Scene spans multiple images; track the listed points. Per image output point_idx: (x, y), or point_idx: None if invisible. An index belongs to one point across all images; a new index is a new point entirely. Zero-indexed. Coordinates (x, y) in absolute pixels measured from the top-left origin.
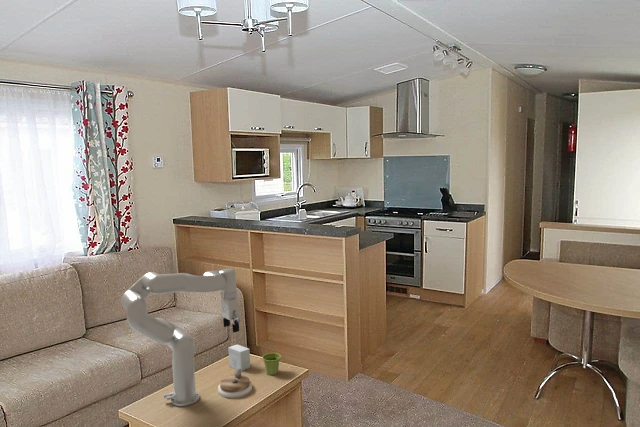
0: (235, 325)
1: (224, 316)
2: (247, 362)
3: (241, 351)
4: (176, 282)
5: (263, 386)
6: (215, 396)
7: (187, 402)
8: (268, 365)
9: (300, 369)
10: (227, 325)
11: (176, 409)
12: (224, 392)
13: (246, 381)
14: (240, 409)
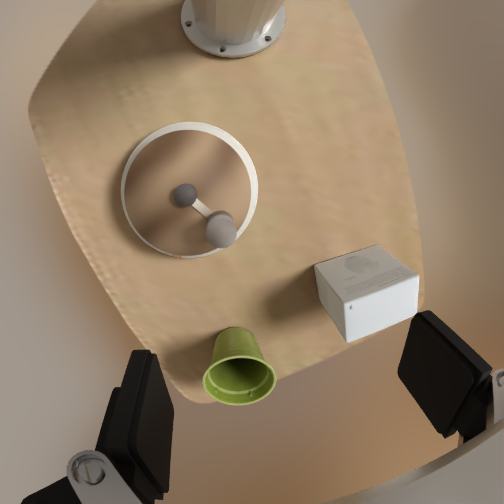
0: (98, 451)
1: (446, 495)
2: (325, 302)
3: (346, 309)
4: None
5: (155, 284)
6: (183, 106)
7: (188, 8)
8: (220, 351)
9: (205, 401)
10: (408, 353)
11: None
12: (157, 135)
13: (163, 237)
14: (55, 159)
